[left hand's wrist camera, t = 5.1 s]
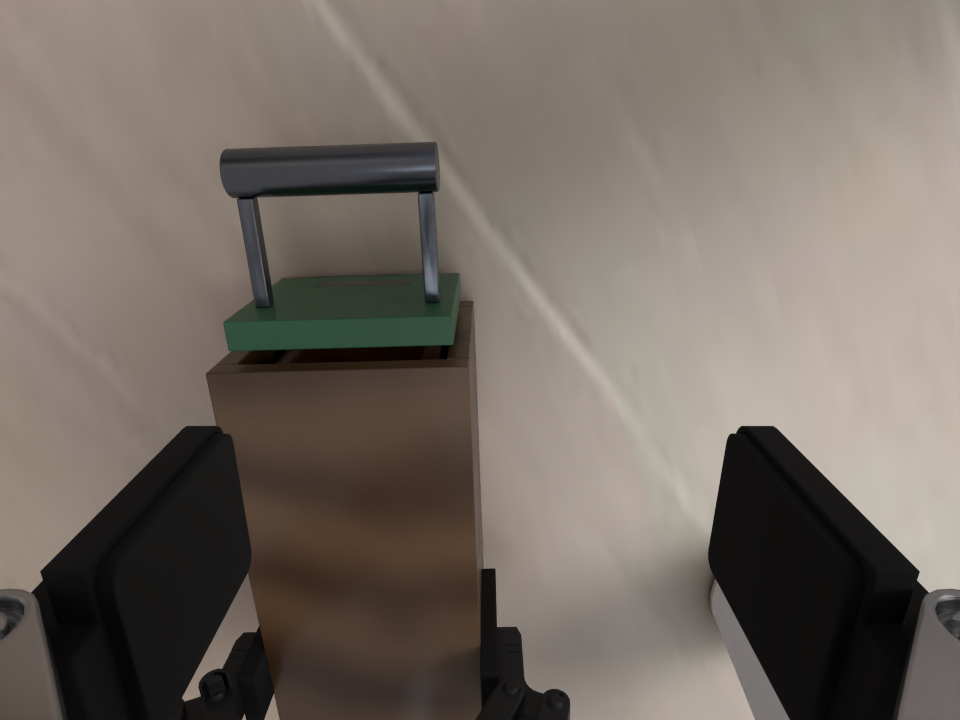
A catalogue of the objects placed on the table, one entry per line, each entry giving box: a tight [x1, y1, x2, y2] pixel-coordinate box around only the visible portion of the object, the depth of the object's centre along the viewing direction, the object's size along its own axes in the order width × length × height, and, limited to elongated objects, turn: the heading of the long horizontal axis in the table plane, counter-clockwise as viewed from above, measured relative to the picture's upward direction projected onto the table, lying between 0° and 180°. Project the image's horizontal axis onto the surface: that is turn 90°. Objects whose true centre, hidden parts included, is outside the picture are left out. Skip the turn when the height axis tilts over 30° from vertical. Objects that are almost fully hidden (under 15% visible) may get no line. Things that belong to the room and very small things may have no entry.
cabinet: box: [206, 302, 483, 720], centre depth 30 cm, size 20×10×9 cm, turn 2°
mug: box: [710, 579, 790, 720], centre depth 32 cm, size 11×9×10 cm
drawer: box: [220, 142, 461, 364], centre depth 28 cm, size 24×9×7 cm, turn 2°
